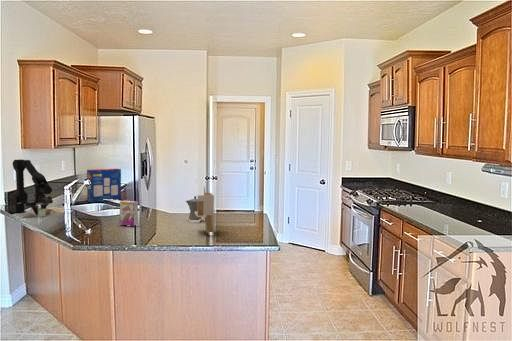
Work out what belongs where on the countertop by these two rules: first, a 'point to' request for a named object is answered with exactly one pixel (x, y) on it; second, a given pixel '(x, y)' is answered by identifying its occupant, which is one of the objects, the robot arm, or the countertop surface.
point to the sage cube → (40, 212)
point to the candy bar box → (128, 213)
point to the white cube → (33, 211)
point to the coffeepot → (193, 208)
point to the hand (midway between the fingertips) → (39, 214)
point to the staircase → (206, 210)
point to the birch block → (54, 210)
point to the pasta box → (104, 184)
